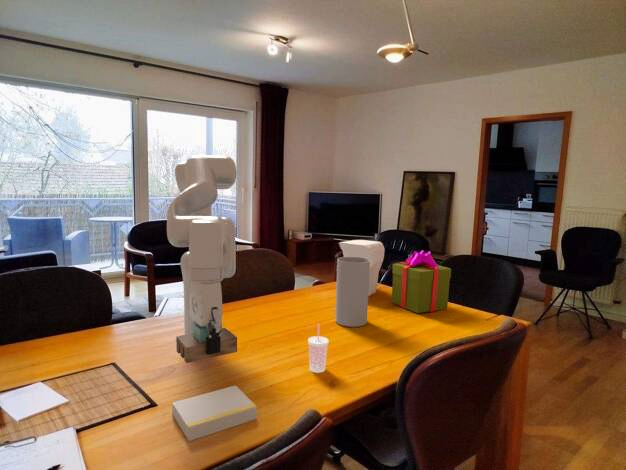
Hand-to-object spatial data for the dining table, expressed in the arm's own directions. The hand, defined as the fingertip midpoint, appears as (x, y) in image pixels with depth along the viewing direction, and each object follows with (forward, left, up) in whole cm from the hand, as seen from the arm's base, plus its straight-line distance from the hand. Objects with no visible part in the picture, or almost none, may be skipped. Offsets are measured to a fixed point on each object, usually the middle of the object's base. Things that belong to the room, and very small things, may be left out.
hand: (206, 346), depth 100 cm
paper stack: (-104, -62, -16) cm, 122 cm away
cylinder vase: (-71, -32, -16) cm, 79 cm away
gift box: (-111, -33, -16) cm, 116 cm away
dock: (-1, +3, -16) cm, 16 cm away
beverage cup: (-36, -5, -16) cm, 39 cm away
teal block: (0, 0, +2) cm, 2 cm away
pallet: (0, 0, -1) cm, 1 cm away
